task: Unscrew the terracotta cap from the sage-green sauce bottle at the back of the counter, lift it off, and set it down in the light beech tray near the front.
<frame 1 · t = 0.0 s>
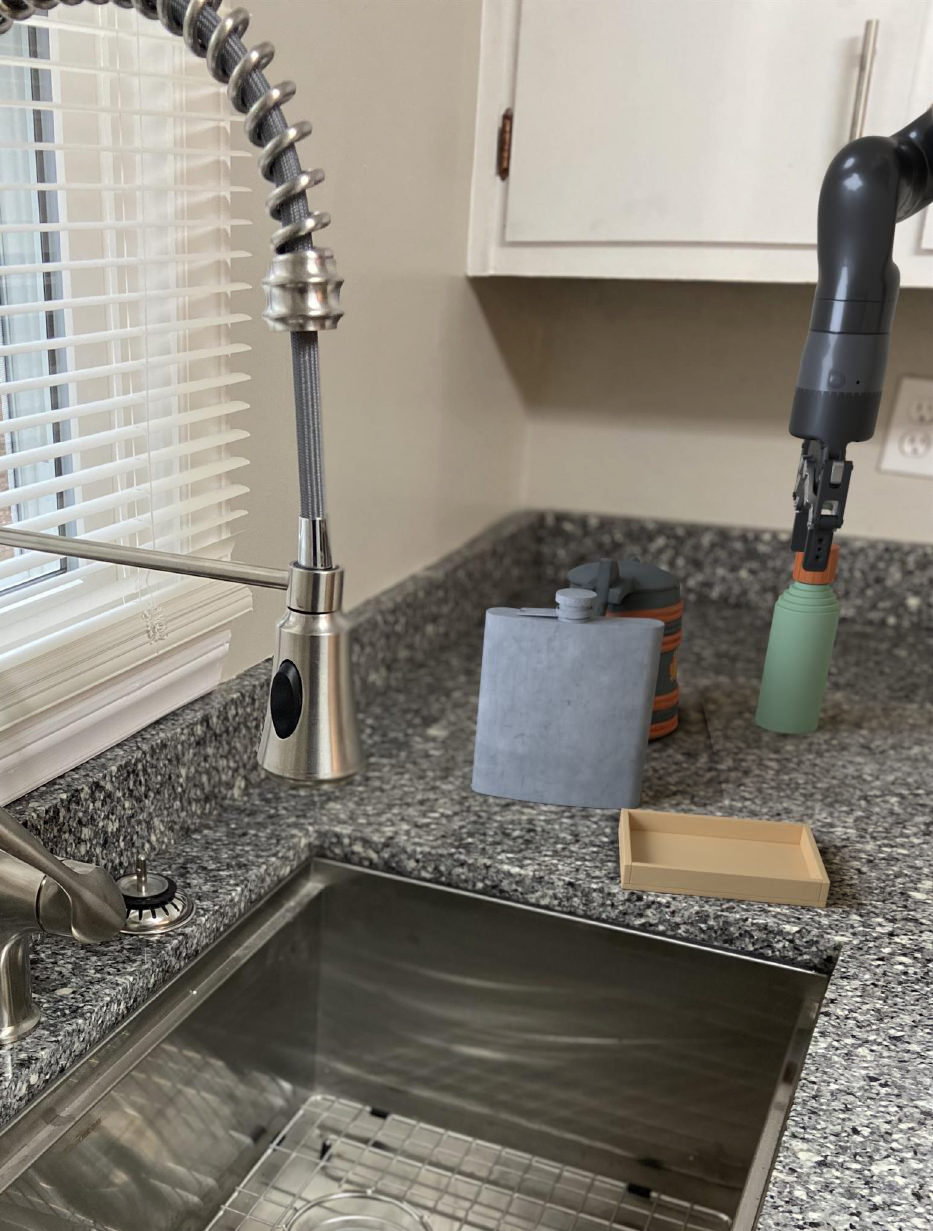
hand: (807, 560, 137), 20 cm above the worktop, tool pointing down, fingers open, 8 cm apart
hip flask: (553, 799, 136), on the worktop
tray: (715, 867, 122), on the worktop
cap: (818, 549, 143), point 20 cm above the worktop, screwed on, not yet turned
beer stein: (604, 730, 153), on the worktop
bottle: (784, 733, 152), on the worktop
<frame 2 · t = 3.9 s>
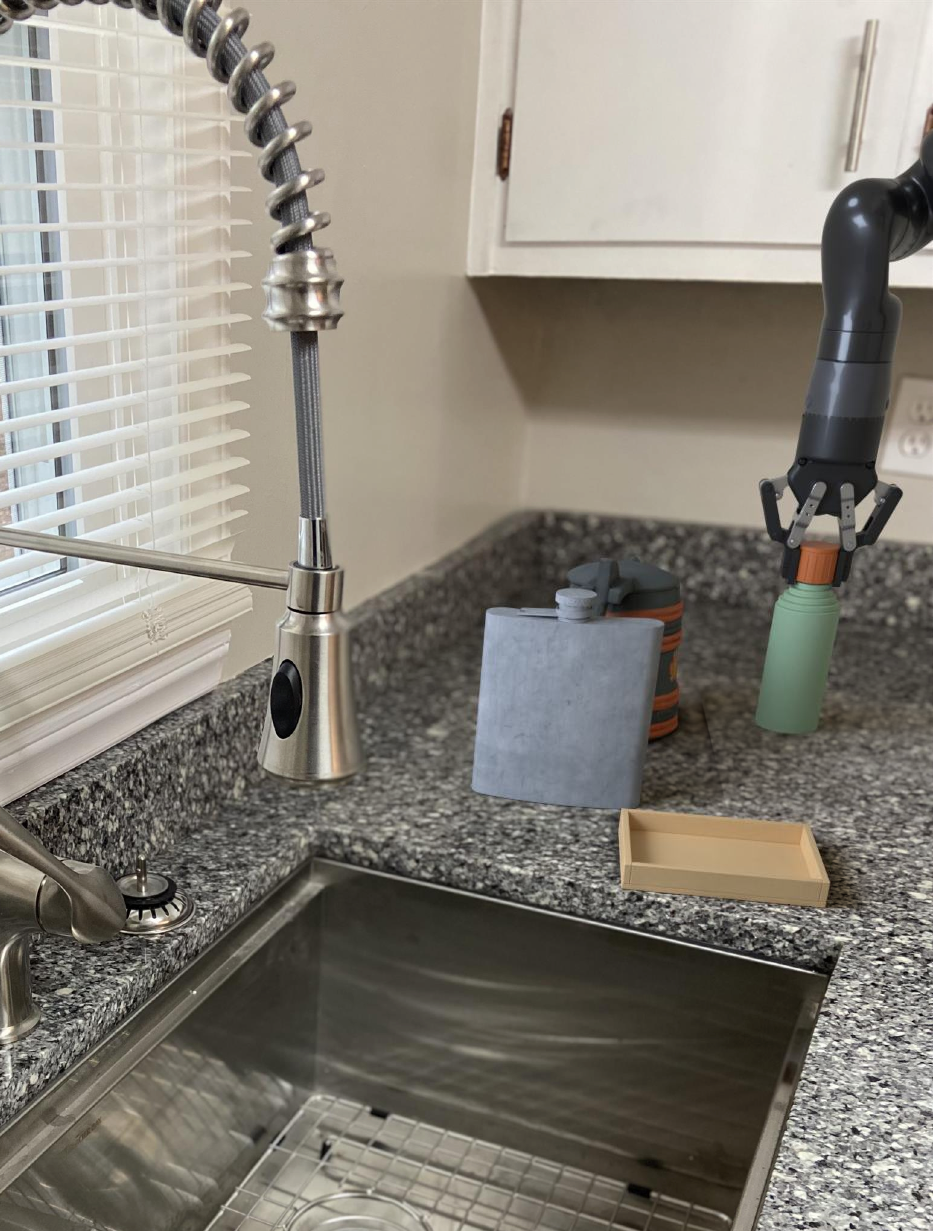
hand: (811, 583, 145), 16 cm above the worktop, tool pointing down, fingers closed on cap, 4 cm apart
cap: (818, 549, 143), point 20 cm above the worktop, screwed on, not yet turned, touching gripper
everything else where it was.
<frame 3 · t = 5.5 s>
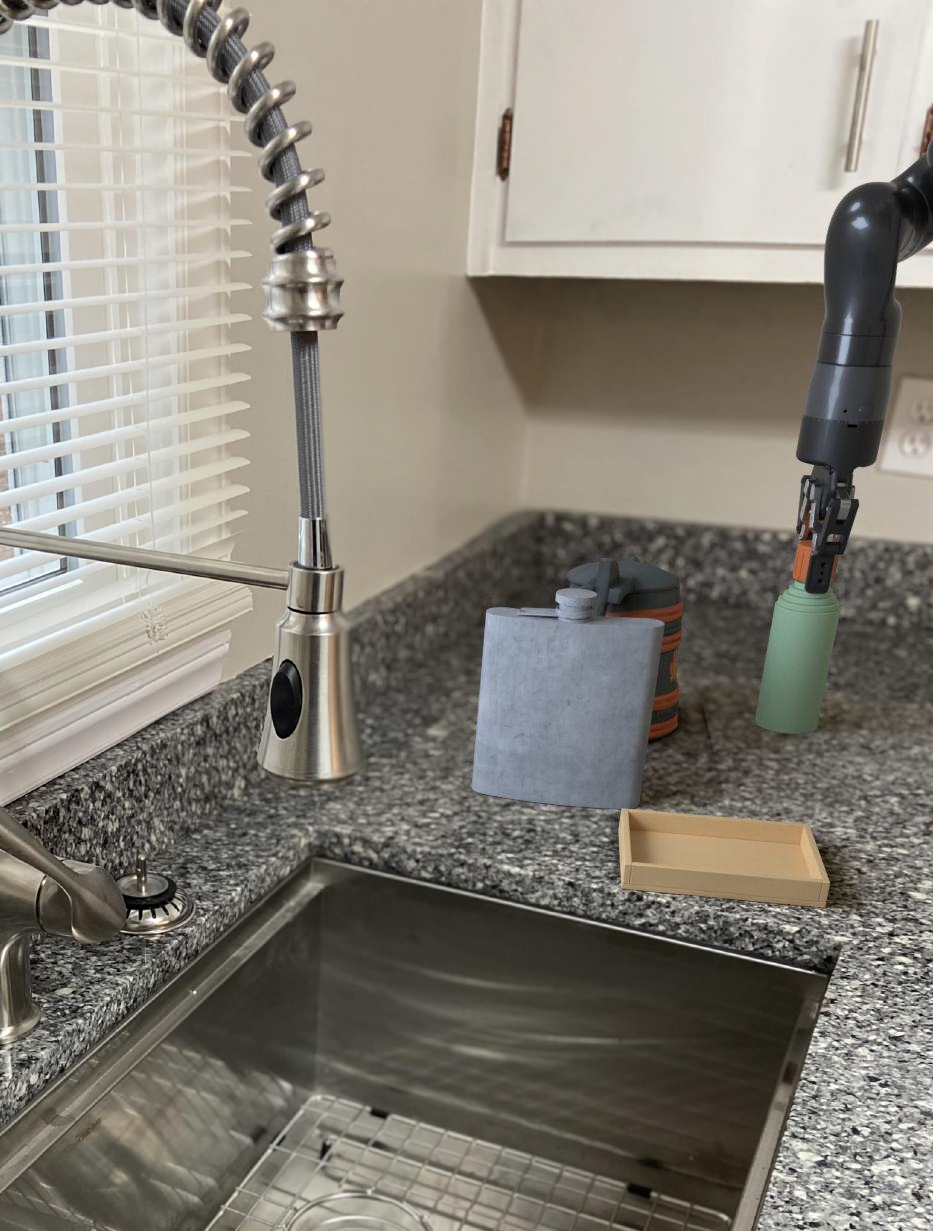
hand: (810, 586, 145), 16 cm above the worktop, tool pointing down, fingers closed on cap, 3 cm apart
cap: (818, 548, 143), point 20 cm above the worktop, turned 95° so far, risen 0.1 cm, still on its thread, touching gripper
bottle: (784, 733, 152), on the worktop, touching gripper
everything else where it was.
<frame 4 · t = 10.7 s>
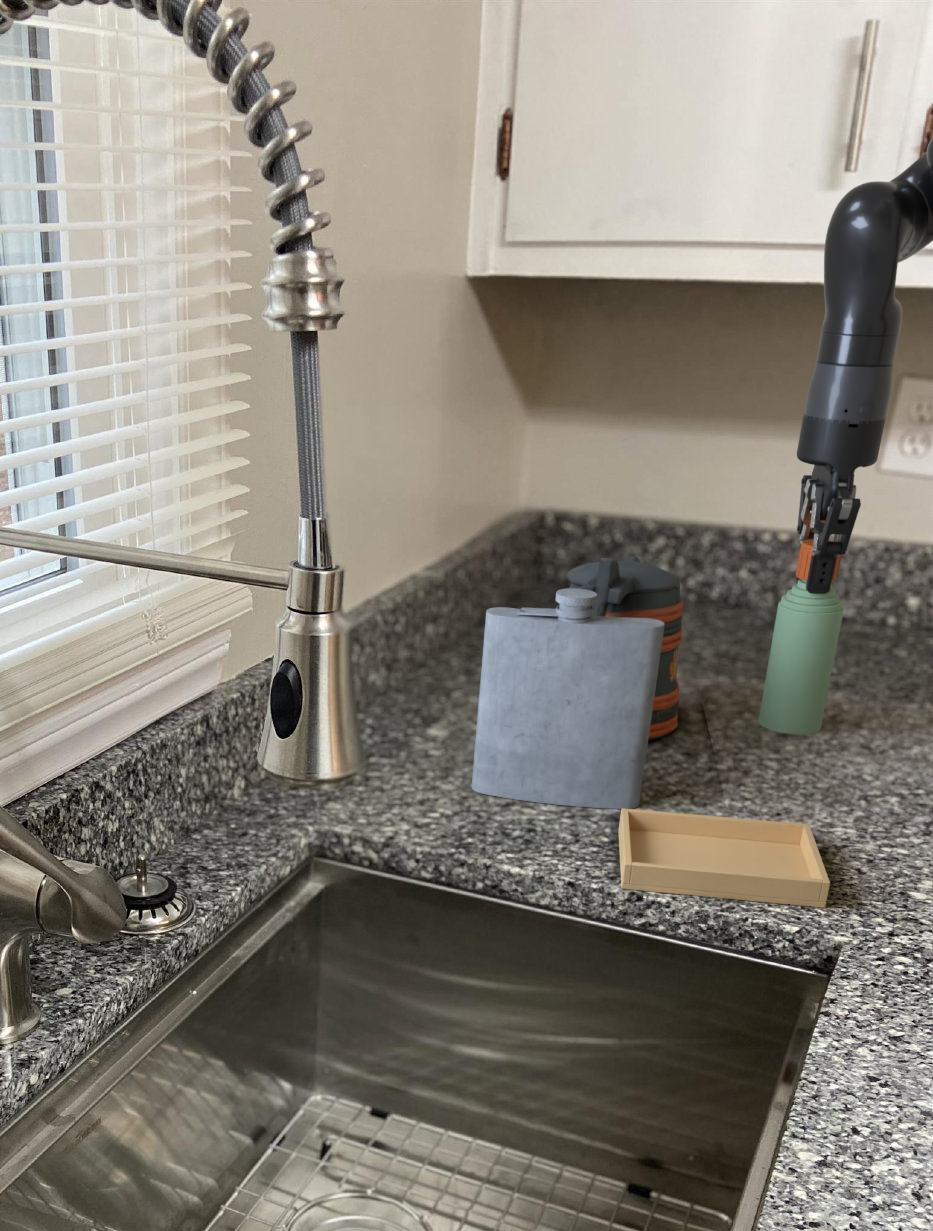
hand: (812, 586, 145), 16 cm above the worktop, tool pointing down, fingers closed on cap, 3 cm apart
cap: (821, 547, 143), point 20 cm above the worktop, turned 190° so far, risen 0.2 cm, still on its thread, touching gripper
everything else where it was.
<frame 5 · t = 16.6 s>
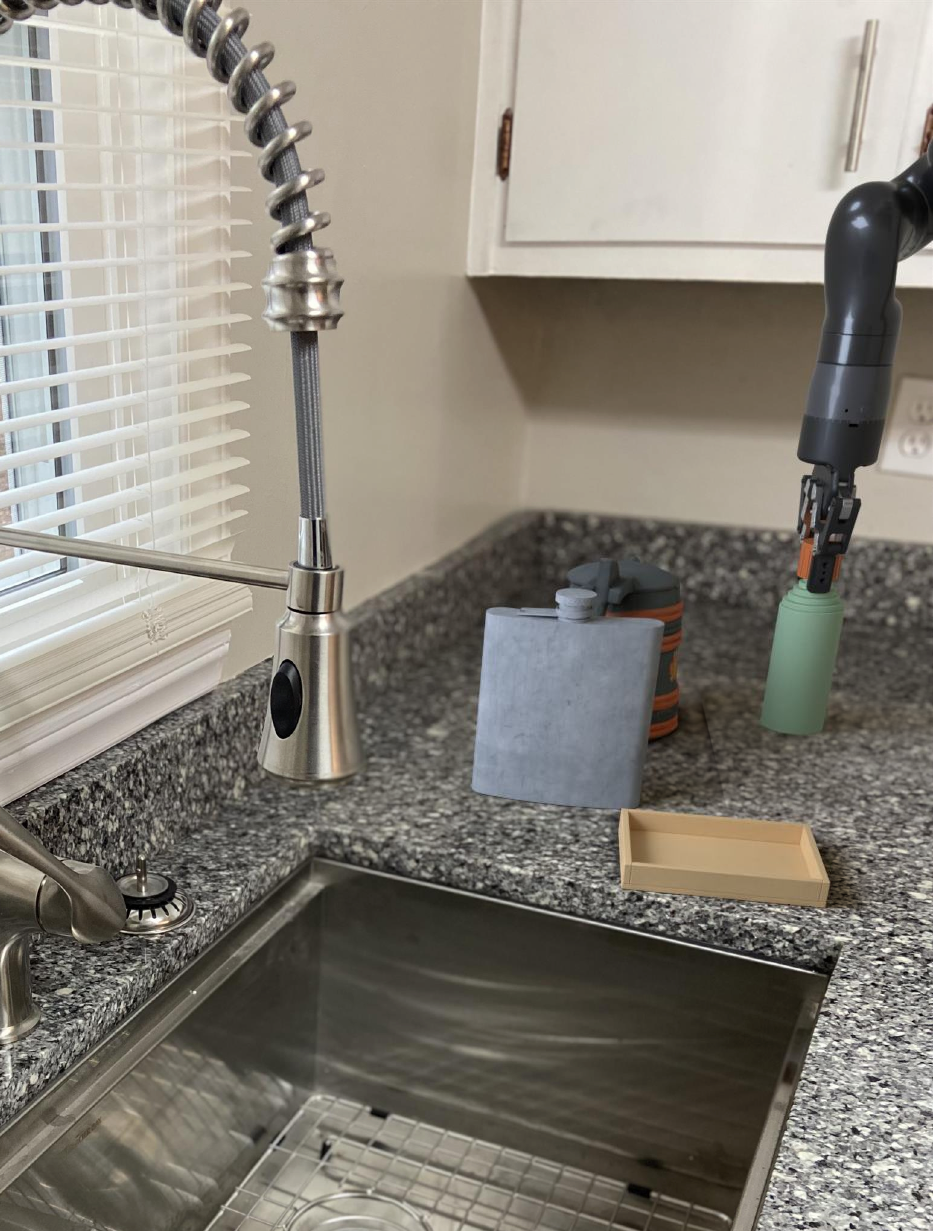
hand: (812, 586, 145), 16 cm above the worktop, tool pointing down, fingers closed on cap, 4 cm apart
cap: (822, 546, 143), point 20 cm above the worktop, turned 284° so far, risen 0.3 cm, still on its thread, touching gripper
everything else where it was.
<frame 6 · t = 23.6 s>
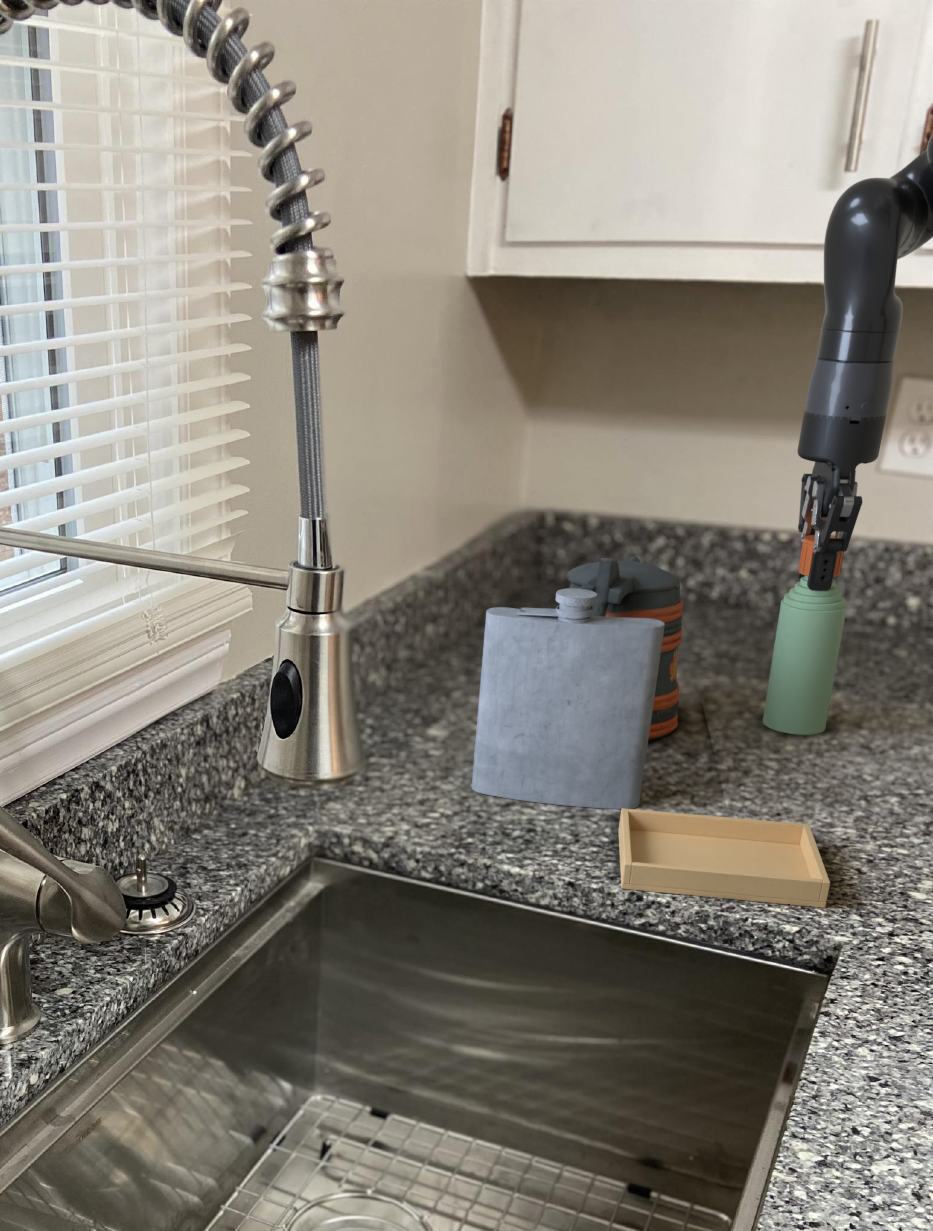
hand: (813, 584, 145), 16 cm above the worktop, tool pointing down, fingers closed on bottle, cap, 3 cm apart
cap: (824, 542, 143), point 20 cm above the worktop, turned 380° so far, risen 0.4 cm, still on its thread, touching gripper
bottle: (792, 732, 152), on the worktop, touching gripper
everything else where it was.
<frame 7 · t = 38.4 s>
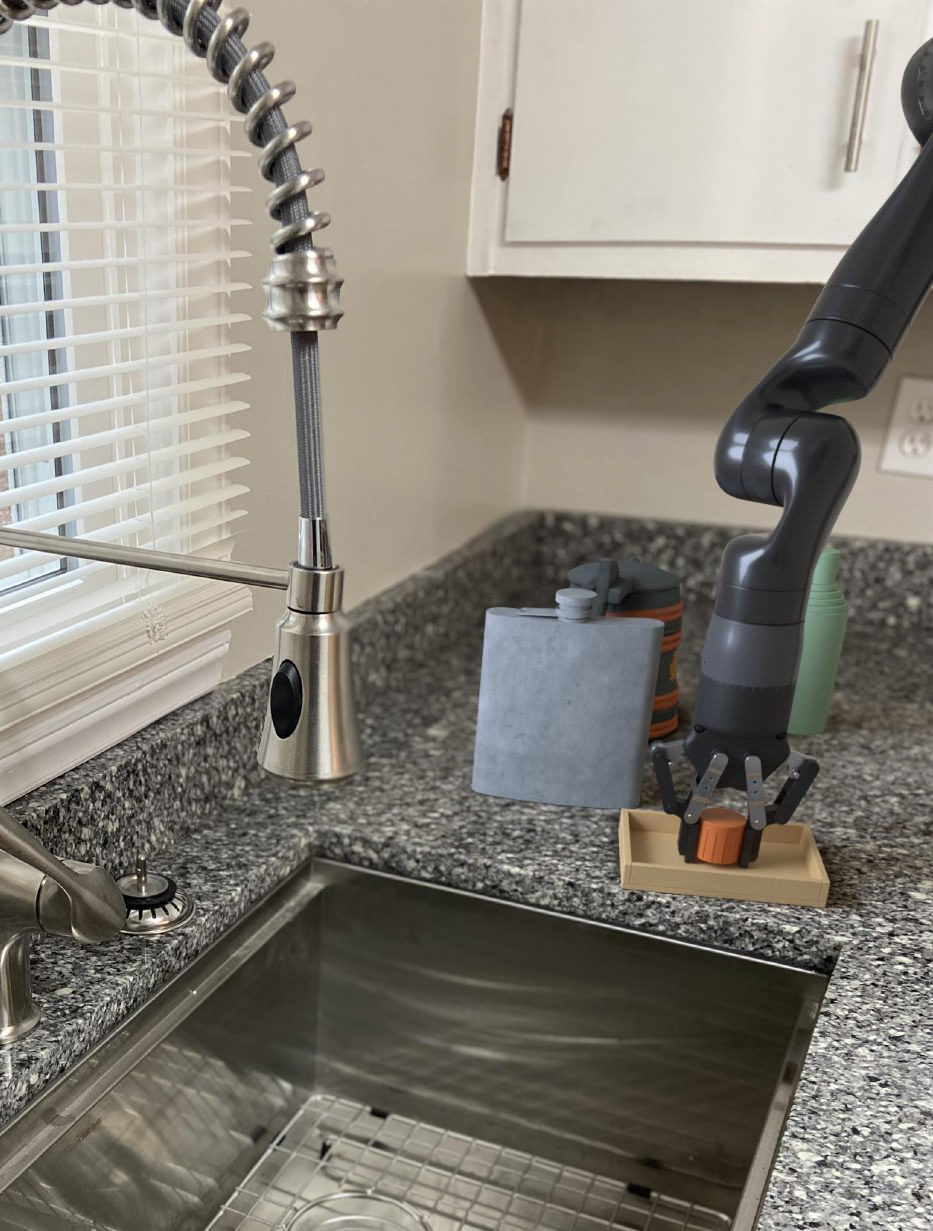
hand: (715, 860, 121), 1 cm above the worktop, tool pointing down, fingers closed on cap, 4 cm apart
cap: (721, 821, 120), point 4 cm above the worktop, off its thread, touching gripper
bottle: (792, 734, 152), on the worktop
everything else where it was.
when the fingers open (2 cm above the worktop, at t = 43.9 s): cap drops 2 cm, resting on tray.
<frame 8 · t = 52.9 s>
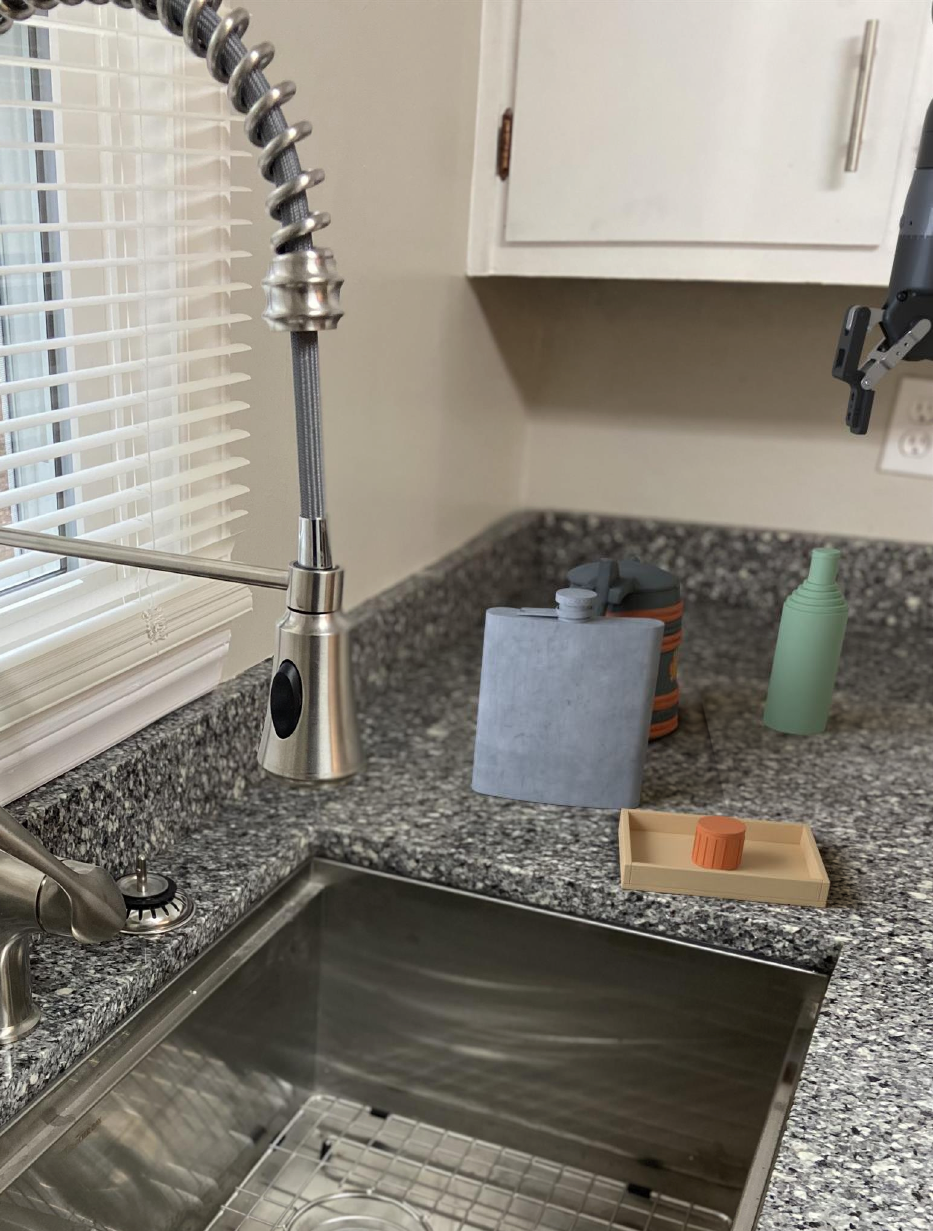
hand: (905, 434, 124), 33 cm above the worktop, tool pointing down, fingers open, 8 cm apart
cap: (721, 828, 120), point 4 cm above the worktop, off its thread, touching tray
everything else where it was.
at the end: cap came off its thread; cap inside the target area in the tray (0.1 cm from its centre), point 3.6 cm above the tray's base; the gripper is holding nothing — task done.
